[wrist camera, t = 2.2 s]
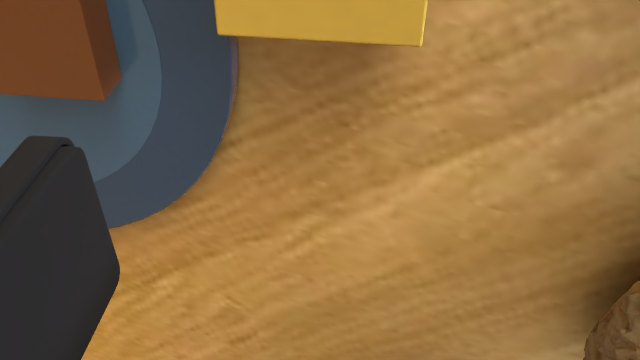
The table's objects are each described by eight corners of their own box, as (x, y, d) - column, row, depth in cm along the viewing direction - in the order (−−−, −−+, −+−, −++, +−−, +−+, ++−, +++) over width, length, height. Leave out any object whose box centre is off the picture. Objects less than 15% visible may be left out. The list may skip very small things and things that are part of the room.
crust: (-10, -31, 23) (-40, -12, 22) (100, -26, 23) (77, -6, 21) (24, 70, 26) (-1, 94, 24) (122, 77, 26) (104, 101, 24)
